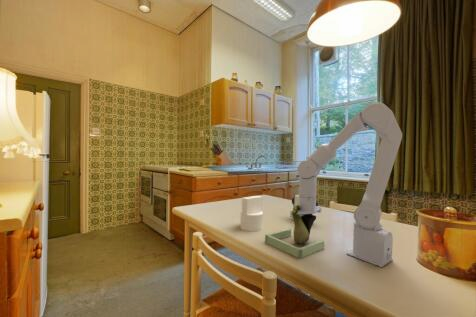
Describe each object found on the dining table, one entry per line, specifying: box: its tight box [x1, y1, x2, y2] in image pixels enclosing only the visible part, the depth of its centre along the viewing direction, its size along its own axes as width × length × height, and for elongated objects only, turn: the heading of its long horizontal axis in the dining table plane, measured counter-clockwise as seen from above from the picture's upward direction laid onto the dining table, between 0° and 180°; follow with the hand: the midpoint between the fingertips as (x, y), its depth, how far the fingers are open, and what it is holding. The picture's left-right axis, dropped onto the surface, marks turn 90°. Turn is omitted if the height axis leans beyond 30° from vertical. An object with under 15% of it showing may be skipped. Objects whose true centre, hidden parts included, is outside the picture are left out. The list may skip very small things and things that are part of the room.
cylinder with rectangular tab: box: [239, 195, 264, 232], centre depth 88 cm, size 9×9×12 cm
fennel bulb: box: [291, 205, 310, 245], centre depth 72 cm, size 6×5×12 cm
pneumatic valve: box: [291, 194, 319, 209], centre depth 99 cm, size 6×12×12 cm, turn 29°
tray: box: [264, 228, 325, 259], centre depth 71 cm, size 14×12×2 cm
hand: (305, 235), depth 76 cm, fingers closed, pressing on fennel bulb
